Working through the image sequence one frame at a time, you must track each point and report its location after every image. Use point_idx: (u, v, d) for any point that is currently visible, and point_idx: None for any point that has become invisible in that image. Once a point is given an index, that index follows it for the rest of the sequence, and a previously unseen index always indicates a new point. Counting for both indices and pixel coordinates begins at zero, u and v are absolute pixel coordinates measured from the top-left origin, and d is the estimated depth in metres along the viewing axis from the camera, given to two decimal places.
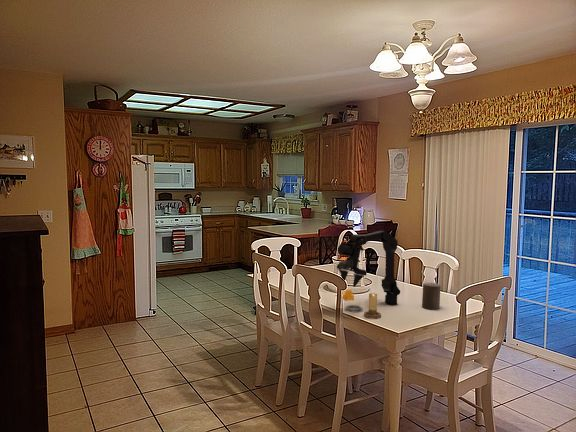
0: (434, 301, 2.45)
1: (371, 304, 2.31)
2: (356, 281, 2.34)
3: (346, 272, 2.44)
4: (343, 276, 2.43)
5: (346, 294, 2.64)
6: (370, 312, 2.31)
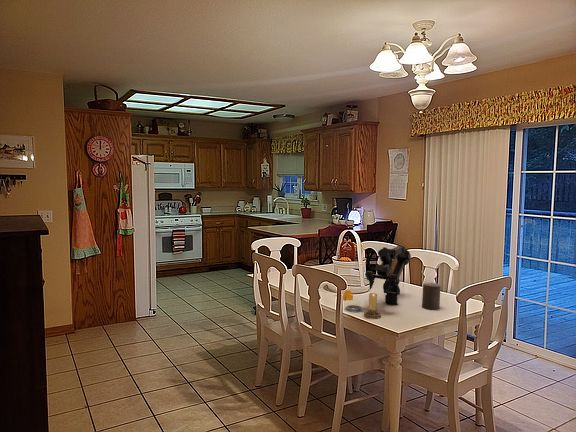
0: (434, 301, 2.45)
1: (371, 304, 2.31)
2: (389, 286, 2.36)
3: (373, 281, 2.45)
4: (371, 282, 2.42)
5: (345, 294, 2.64)
6: (370, 312, 2.31)
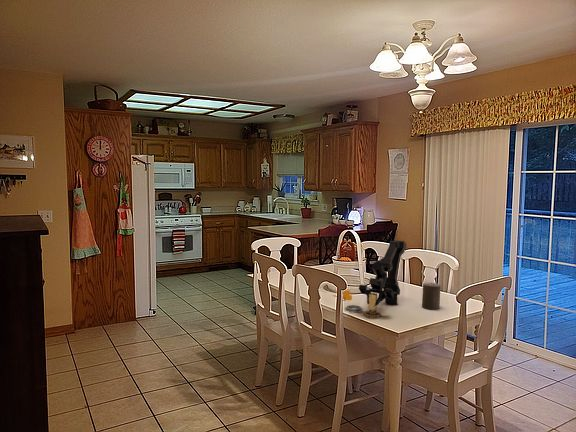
0: (434, 301, 2.45)
1: (371, 304, 2.31)
2: (379, 300, 2.31)
3: None
4: None
5: (344, 294, 2.64)
6: (370, 312, 2.31)
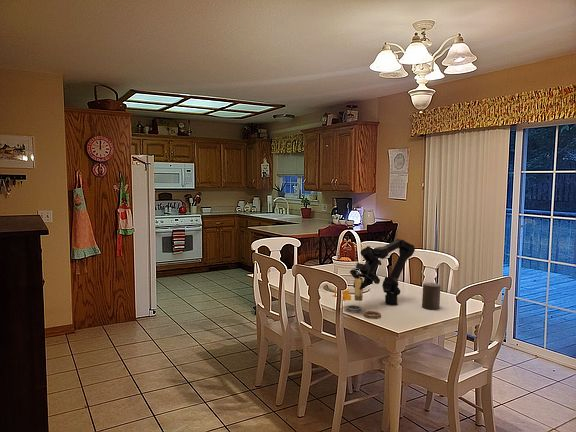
0: (434, 301, 2.45)
1: (356, 288, 2.38)
2: (364, 285, 2.37)
3: None
4: None
5: (343, 294, 2.64)
6: (355, 295, 2.39)
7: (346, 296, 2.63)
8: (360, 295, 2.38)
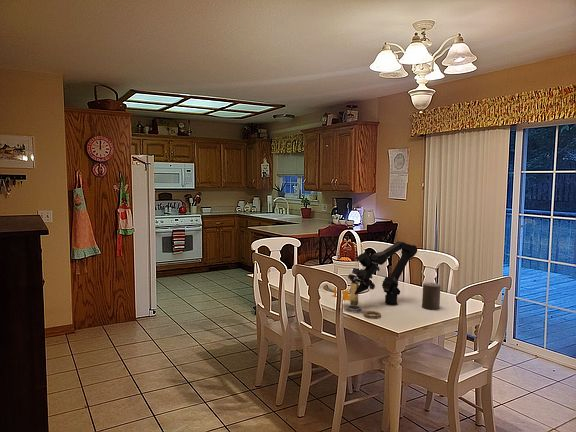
0: (434, 301, 2.45)
1: (351, 292, 2.42)
2: (359, 290, 2.41)
3: None
4: None
5: (343, 294, 2.64)
6: (350, 300, 2.43)
7: (346, 296, 2.63)
8: (355, 300, 2.42)
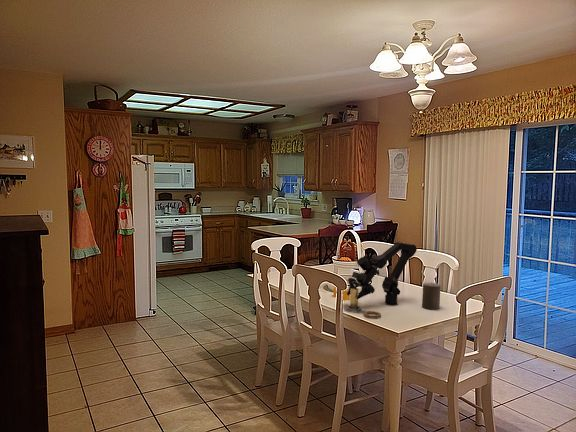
0: (434, 301, 2.45)
1: (351, 298, 2.43)
2: (361, 294, 2.39)
3: None
4: None
5: None
6: (350, 305, 2.43)
7: (345, 296, 2.63)
8: (355, 305, 2.42)
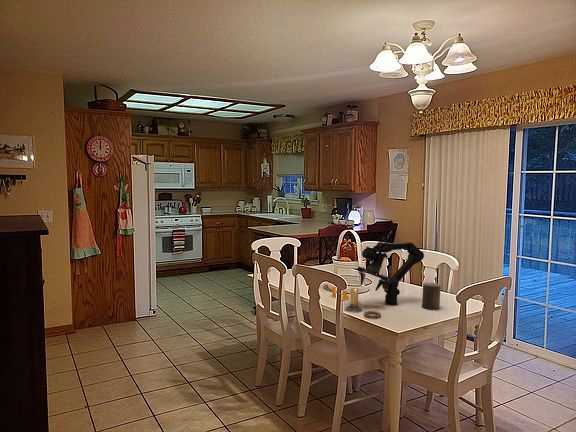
0: (434, 301, 2.45)
1: (351, 298, 2.43)
2: (379, 286, 2.48)
3: (364, 275, 2.55)
4: (363, 279, 2.53)
5: None
6: (350, 305, 2.44)
7: (344, 296, 2.62)
8: (355, 305, 2.42)
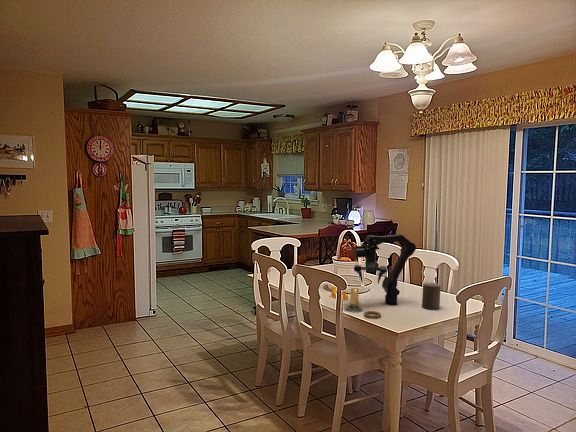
0: (434, 301, 2.45)
1: (351, 298, 2.43)
2: (380, 278, 2.52)
3: None
4: None
5: None
6: (350, 305, 2.44)
7: (343, 296, 2.62)
8: (355, 305, 2.42)
